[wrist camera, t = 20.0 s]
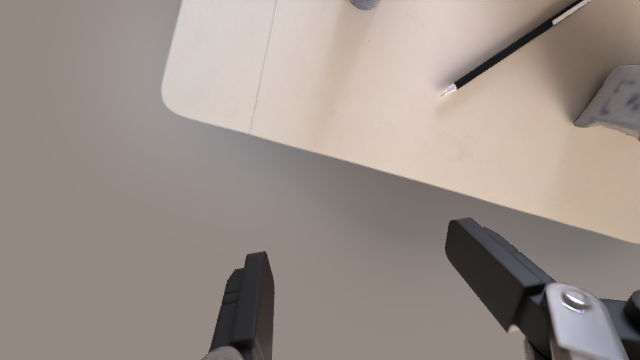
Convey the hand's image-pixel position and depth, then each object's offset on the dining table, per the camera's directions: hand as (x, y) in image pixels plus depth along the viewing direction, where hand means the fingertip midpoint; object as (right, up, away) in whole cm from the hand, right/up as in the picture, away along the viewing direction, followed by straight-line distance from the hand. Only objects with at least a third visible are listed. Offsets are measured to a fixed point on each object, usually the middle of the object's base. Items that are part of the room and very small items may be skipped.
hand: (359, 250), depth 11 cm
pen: (+20, +18, +18) cm, 33 cm away
